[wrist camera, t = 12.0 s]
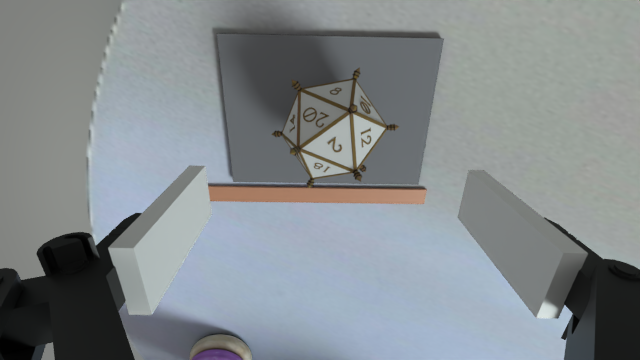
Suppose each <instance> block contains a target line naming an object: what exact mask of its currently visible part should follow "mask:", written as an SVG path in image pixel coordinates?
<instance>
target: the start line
mask: <svg viewBox="0 0 640 360" xmlns="http://www.w3.org/2000/svg"><path fill="white" fill-rule="evenodd" d="M208 189H209V196H210V201H240V202H313V203H387V204H424V201H425V196H426V191H427V190H426V189H416V188H346V187H310V188H308V187H276V186H208Z"/></svg>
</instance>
